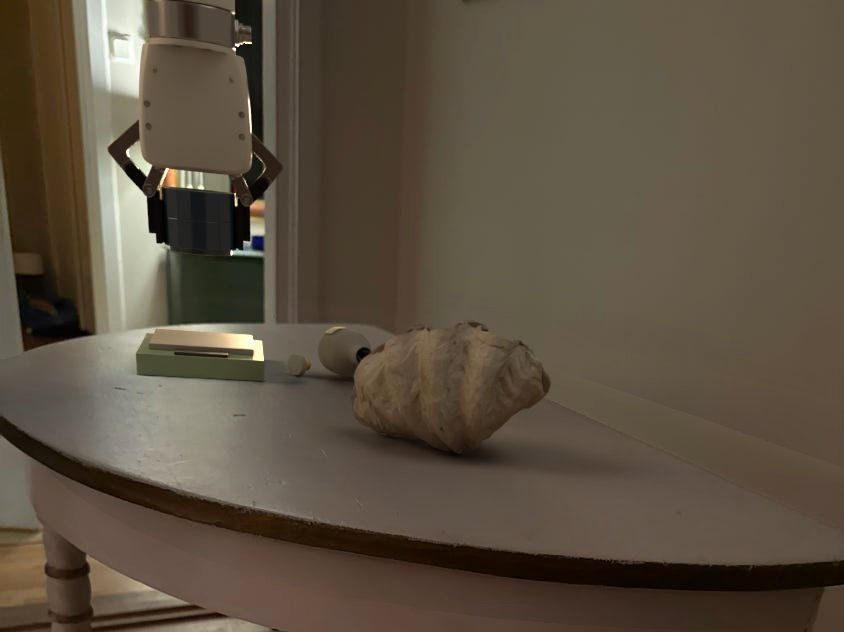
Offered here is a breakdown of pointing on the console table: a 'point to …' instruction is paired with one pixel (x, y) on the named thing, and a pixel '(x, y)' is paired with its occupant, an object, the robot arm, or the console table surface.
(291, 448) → the console table surface
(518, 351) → the seashell
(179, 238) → the cup
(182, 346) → the scale
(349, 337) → the jar with stopper
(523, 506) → the console table surface
